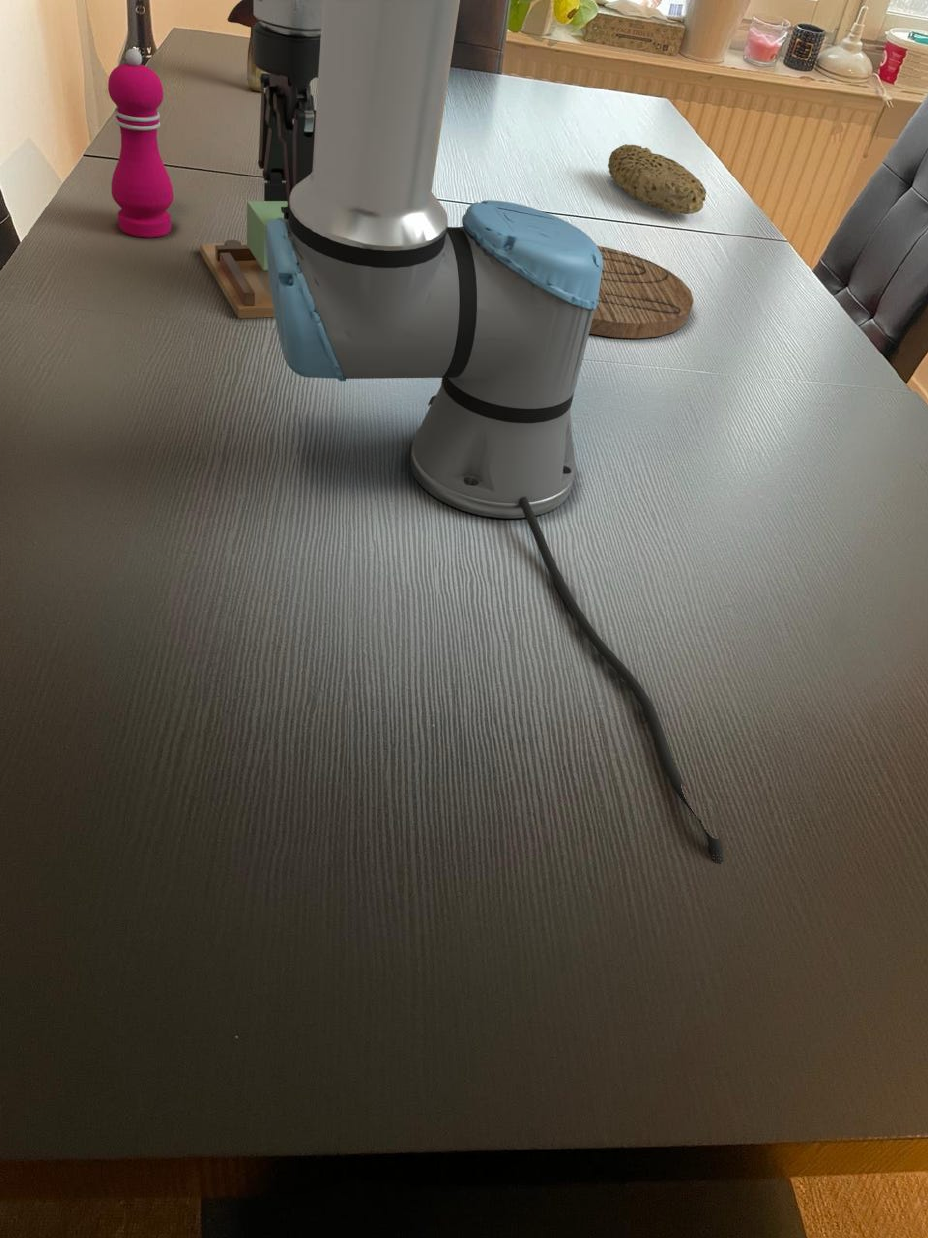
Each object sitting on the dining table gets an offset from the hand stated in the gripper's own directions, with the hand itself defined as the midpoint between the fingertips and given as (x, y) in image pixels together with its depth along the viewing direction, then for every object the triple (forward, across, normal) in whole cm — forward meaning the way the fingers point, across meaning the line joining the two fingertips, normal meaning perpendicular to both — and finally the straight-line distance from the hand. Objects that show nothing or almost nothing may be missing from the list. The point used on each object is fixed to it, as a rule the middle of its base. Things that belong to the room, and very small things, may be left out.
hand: (285, 254), depth 112 cm
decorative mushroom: (+5, -83, +20) cm, 85 cm away
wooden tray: (+4, -3, 0) cm, 5 cm away
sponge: (+1, -28, +70) cm, 75 cm away
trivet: (+3, -9, +45) cm, 46 cm away
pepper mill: (+5, -20, -12) cm, 24 cm away
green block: (0, 0, 0) cm, 0 cm away
